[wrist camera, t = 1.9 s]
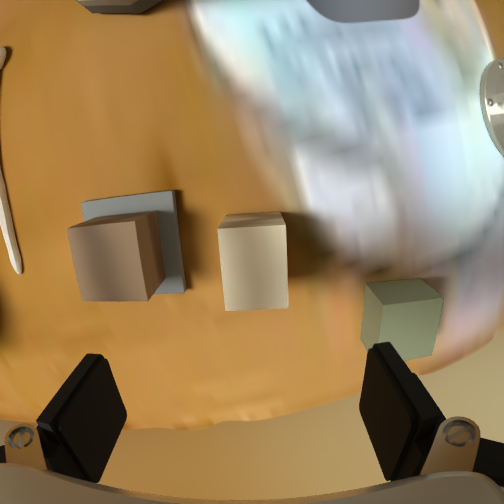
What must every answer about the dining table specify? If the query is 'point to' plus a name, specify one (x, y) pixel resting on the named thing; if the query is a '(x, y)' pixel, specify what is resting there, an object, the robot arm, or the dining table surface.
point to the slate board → (167, 229)
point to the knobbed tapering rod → (8, 210)
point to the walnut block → (118, 257)
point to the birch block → (254, 261)
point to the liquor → (118, 5)
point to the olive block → (402, 316)
